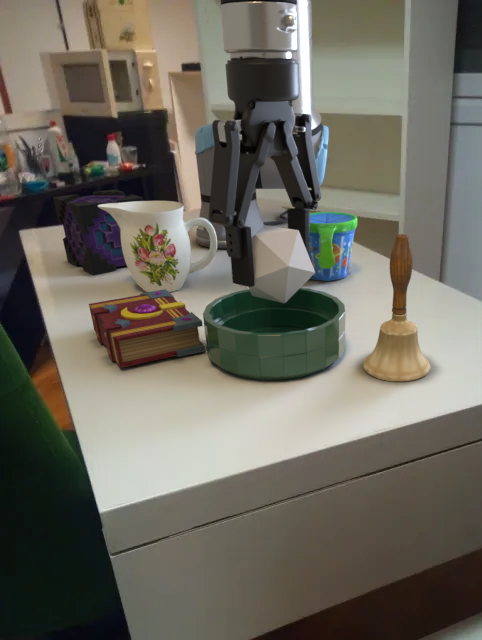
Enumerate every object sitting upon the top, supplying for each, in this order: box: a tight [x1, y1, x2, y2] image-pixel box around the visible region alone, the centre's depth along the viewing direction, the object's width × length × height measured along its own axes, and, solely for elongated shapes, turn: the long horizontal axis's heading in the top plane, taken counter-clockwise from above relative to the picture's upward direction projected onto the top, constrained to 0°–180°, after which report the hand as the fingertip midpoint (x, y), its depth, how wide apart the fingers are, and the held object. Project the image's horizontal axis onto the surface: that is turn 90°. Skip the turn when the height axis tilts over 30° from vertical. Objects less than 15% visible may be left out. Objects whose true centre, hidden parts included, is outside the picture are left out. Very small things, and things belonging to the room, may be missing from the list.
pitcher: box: [98, 200, 218, 293], centre depth 98 cm, size 11×18×14 cm, turn 104°
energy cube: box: [52, 189, 144, 276], centre depth 112 cm, size 12×12×12 cm
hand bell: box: [362, 233, 432, 383], centre depth 69 cm, size 8×8×16 cm
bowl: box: [202, 287, 346, 381], centre depth 76 cm, size 18×18×6 cm
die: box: [247, 225, 315, 303], centre depth 71 cm, size 8×9×10 cm
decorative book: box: [88, 289, 207, 369], centre depth 80 cm, size 11×16×5 cm
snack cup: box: [309, 211, 358, 282], centre depth 103 cm, size 16×10×10 cm
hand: (272, 273), depth 72 cm, fingers closed on die, 10 cm apart
